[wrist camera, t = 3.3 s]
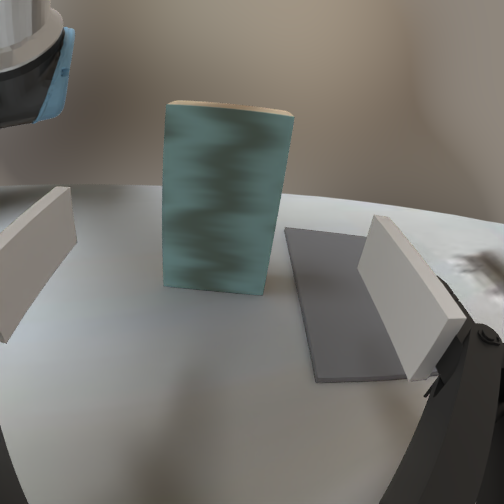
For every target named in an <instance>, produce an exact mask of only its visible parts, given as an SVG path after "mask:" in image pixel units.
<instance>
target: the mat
mask: <svg viewBox="0 0 504 504" xmlns="http://www.w3.org/2000/svg"><path fill="white" fill-rule="evenodd" d="M284 232H285V237H286V241H287V245H288V250H289V254H290V259H291V263H292V268H293V272H294V277H295V282H296V286H297V291H298V296H299V300H300V305H301V310H302V315H303V320H304V325H305V329H306V334H307V339H308V344H309V349H310V355H311V360H312V365H313V370H314V375H315V381H316V382H355V381H376V380H392V379H404V378H407V376H406V374H405V371H404V369H403V366H402V364H401V362H400V359H399V357H398V355H397V352H396V350H395V348H394V345H393V343H392V341H391V339H390V336H389V334H388V332H387V330H386V327H385V325H384V323H383V321H382V319H381V317H380V314H379V312H378V310H377V308H376V306H375V304H374V302H373V300H372V297H371V295H370V293H369V291H368V289H367V287H366V285H365V283H364V281H363V279H362V277H361V275H360V273H359V271H358V269H357V267H358V264H359V261H360V258H361V255H362V252H363V249H364V245H365V242H366V239H367V237H363V236H355V235H347V234H339V233H331V232H322V231H314V230H305V229H296V228H287V227H285V230H284ZM434 375H439V374H438V371H437V369H436V367H435V368H434V370H433V371H432V373H431V374H430V376H434Z"/></svg>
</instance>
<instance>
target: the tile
mask: <svg viewBox="0 0 504 504" xmlns="http://www.w3.org/2000/svg"><path fill="white" fill-rule="evenodd" d="M293 123H294V116H293V115H292V114H291V113H290V112H288V111H283V110H276V109H269V108H261V107H253V106H244V105H234V104H224V103H212V102H199V101H180V100H175V101H173V102H171V103H169V104H167V105H166V117H165V135H164V154H163V188H162V248H163V282H164V286H169V287H178V288H188V289H198V290H208V291H218V292H229V293H240V294H251V295H263V291H264V286H265V281H266V275H267V270H268V265H269V259H270V254H271V248H272V243H273V238H274V232H275V227H276V221H277V216H278V210H279V204H280V199H281V193H282V187H283V182H284V176H285V170H286V164H287V158H288V153H289V147H290V141H291V135H292V129H293Z"/></svg>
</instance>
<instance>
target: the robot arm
mask: <svg viewBox="0 0 504 504" xmlns="http://www.w3.org/2000/svg"><path fill="white" fill-rule="evenodd" d="M50 4H51V0H0V129H1V128H6V127H12V126H17V125H24V124H30V123H33V124H34V123H36V122H38V121H41V120H46V119H50V118H54V117H56V116H58V115H59V114H60V113H61V111H62V110H63V108H64V104H65V98H66V92H67V86H68V78H69V70H70V64H71V59H72V52H73V46H74V39H75V31H74V29H71V28H67V27H64V28H63V20H62V16H61V15H60V13H58V11H56V10H55V9H53V8H51V7H50ZM76 243H77V237H76V230H75V223H74V216H73V208H72V199H71V189H70V187H59V186H56V187H55V188H54V189H52V190H51V191H50V192H48V193H47V194H46V195H45V196H43V197H42V198H41V199H40V200H38V201H37V202H36V203H35V204H34V205H32V206H31V207H30V208H29V209H27V210H26V211H25V212H24V213H23V214H22V215H20V216H19V217H18V218H17V219H16V220H15V221H14V222H12V223H11V224H10V225H9V226H8V227H7V228H6V229H5V230H3V231H2V232H1V233H0V342H2V343H6V344H7V342H8V340H9V339H10V337H11V335H12V334H13V332H14V331H15V329H16V327H17V326H18V324H19V323H20V321H21V320H22V318H23V317H24V315H25V313H26V312H27V310H28V309H29V307H30V306H31V304H32V303H33V302H34V300H35V299H36V297H37V296H38V294H39V293H40V291H41V290H42V289H43V287H44V286H45V284H46V283H47V282H48V280H49V279H50V277H51V276H52V275H53V273H54V272H55V271H56V269H57V268H58V267H59V265H60V264H61V263H62V261H63V260H64V259H65V257H66V256H67V255H68V254H69V252H70V251H71V250H72V248H73V247H74V246H75V245H76ZM357 269H358V271H359V273H360V275H361V277H362V279H363V281H364V283H365V285H366V287H367V289H368V291H369V293H370V295H371V297H372V300H373V302H374V304H375V306H376V308H377V310H378V312H379V314H380V317H381V319H382V321H383V323H384V325H385V327H386V330H387V332H388V334H389V336H390V339H391V341H392V343H393V345H394V348H395V350H396V352H397V355H398V357H399V359H400V362H401V364H402V366H403V369H404V371H405V374H406V376H407V378H408V381H418V380H426V379H427V378H428V377H429V376H430V374H431V373H432V371H433V370H434V368H435V367H436V369H437V371H438V374H439V376H438V378H437V379H436V380H435V382H434V383H433V384H432V386H431V387H430V388H429V390H428V391H427V392H426V394H425V395H424V397H427V396H428V395H429V394H430V395H429V398H428V401H427V404H426V406H425V409H424V411H423V414H422V416H421V419H420V421H419V424H418V426H417V428H416V431H415V433H414V435H413V438H412V440H411V442H410V444H409V446H408V449H407V451H406V453H405V455H404V457H403V459H402V461H401V463H400V465H399V467H398V469H397V471H396V473H395V475H394V477H393V479H392V481H391V483H390V485H389V486H388V488H387V490H386V492H385V494H384V495H383V497H382V499H381V501H380V502H379V504H475V502H476V504H504V343H502V340H501V339H500V337H499V335H498V334H497V333H496V332H495V331H494V330H493V329H492V328H490V327H489V326H487V325H484V324H478V323H477V324H475V322H474V321H473V319H472V318H471V316H470V315H469V314H468V312H467V311H466V309H465V308H464V306H463V305H462V304H461V302H459V301H458V300H459V299H458V298H457V297H456V295H455V294H453V291H452V290H451V289H450V287H449V286H448V284H447V283H445V282H444V281H443V280H442V279H441V278H439V277H438V276H436V275H435V273H434V272H433V271H432V269H431V268H430V267H429V265H428V264H427V263H426V262H425V260H424V259H423V258H422V256H421V255H420V254H419V253H418V251H417V250H416V249H415V248H414V246H413V245H412V244H411V243H410V242H409V240H408V239H407V238H406V237H405V235H404V234H403V233H402V232H401V231H400V229H399V228H398V227H397V226H396V225H395V224H394V222H393V221H392V220H391V219H390V218H389V217H385V216H379V215H374V216H373V219H372V223H371V226H370V229H369V233H368V236H367V239H366V242H365V245H364V249H363V252H362V255H361V258H360V261H359V264H358V267H357ZM0 504H28V502H27V499H26V497H25V495H24V492H23V490H22V488H21V485H20V483H19V480H18V478H17V475H16V472H15V470H14V467H13V464H12V461H11V459H10V456H9V453H8V450H7V447H6V443H5V440H4V437H3V433H2V430H1V426H0Z"/></svg>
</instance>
